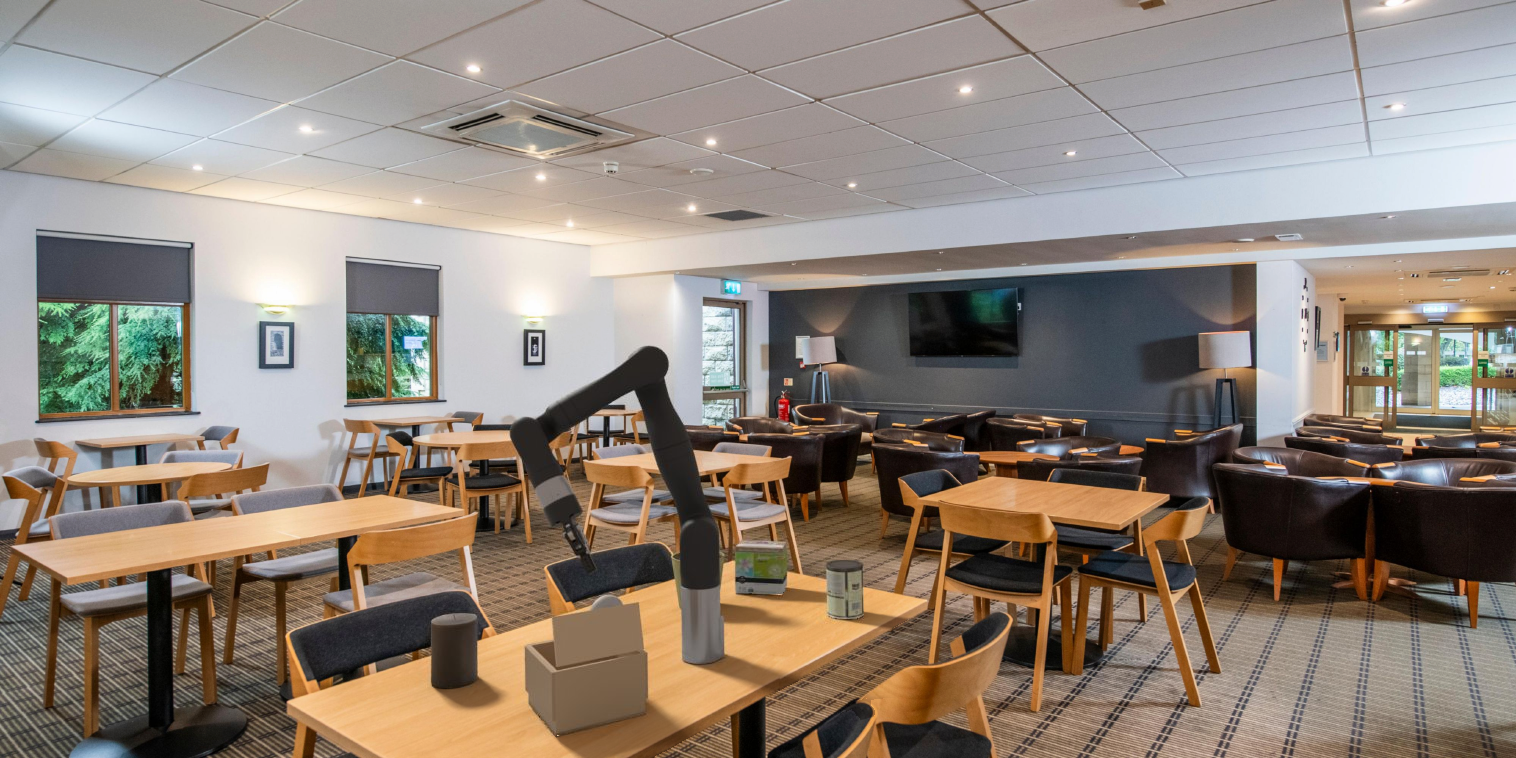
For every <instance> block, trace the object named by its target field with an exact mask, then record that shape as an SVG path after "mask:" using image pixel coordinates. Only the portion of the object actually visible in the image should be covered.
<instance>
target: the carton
mask: <svg viewBox="0 0 1516 758" xmlns="http://www.w3.org/2000/svg"><path fill="white" fill-rule="evenodd" d="M648 655H649V653H648V652H647V651H646V650H645V649H642V650H638V651H633V652H628V653H623V654H618V655H613V656H609V657H604V658H599V659H594V660H589V661H584V662H579V663H575V664H570V665H565V666H560V667H556V659H555V648H554V638H553V639H548V640H541V641H538V642H533V643H528V644H526V645H524V684H525V685H524V689H525V691H526V693H527V694H528V695H527V696H528V697H527V699H528V700H527V701H528V702H527V703H528V705H529V707H531V709H532V708H533V709H532V710H533V711H534V712H535V714H536V713H537V714H538V715H539V716H540V717H539V716H538V715H537V714H536V715H537V716H538V717H539V719H542V720H543V721H544V722H545V723H544V722H543V721H542V720H541V721H542V722H543V723H544V724H545V726H546V725H547V726H548V727H547V726H546V727H547V728H548V729H549V730H550V732H551V731H552V732H553V733H554V734H553V733H552V732H551V733H552V734H553V735H554V736H555V737H556V736H557V735H561V736H564V735H563V734H565V735H568V734H567V733H569V734H572V733H571V732H573V733H576V732H577V733H578V732H580V730H581V731H585V730H588V729H593V728H595V727H596V728H597V727H601V726H604V725H609V724H613V723H616V722H620V721H623V720H627V719H633V718H636V717H639V716H643V715H646V699H647V700H648V699H649V673H648V671H649V669H648V666H649V663H648V662H649V661H648ZM557 737H558V736H557Z"/></svg>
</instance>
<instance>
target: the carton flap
mask: <svg viewBox="0 0 1516 758" xmlns="http://www.w3.org/2000/svg"><path fill="white" fill-rule="evenodd" d="M640 610H641V609H640V602H639V601H638V602H631V603H626V604H623V605H619V606H613V607H607V608H602V609H596V610H590V609H589V610H586V611H585V610H584V611H579V612H574V613H567V614H562V615H557V616H551V624H552V625H551V626H552V635H553V639H554V648H555V659H556V667H560V666H565V665H570V664H575V663H579V662H584V661H589V660H594V659H599V658H604V657H609V656H613V655H618V654H623V653H628V652H633V651H638V650H642V649H643V650H645V644H644V637H643V627H642V617H641V611H640Z"/></svg>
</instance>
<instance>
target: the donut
mask: <svg viewBox="0 0 1516 758" xmlns="http://www.w3.org/2000/svg"><path fill="white" fill-rule="evenodd" d="M619 605H624V603H623V601H622V600H621V599H620V598H619V597H618V596H616V595H614V594H605V595H604V594H603V595H602V596H600V597H598V598H596V600H594V602H593V603H592V604H591V606H590V609H589V611H590V610H596V609H602V608H607V607H613V606H619Z"/></svg>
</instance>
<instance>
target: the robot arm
mask: <svg viewBox="0 0 1516 758" xmlns="http://www.w3.org/2000/svg"><path fill="white" fill-rule="evenodd" d="M669 361H670V360H669V357H668V355H667V354H666V352H665V351H664V350H662V349H661V348H660V347H658V346H654V345H644V346H641V347H638V348H636V350H634V351H632V352H631V353H630V355H629V356H628V358H627V359H626V360H625V361H624V362H622V363H621V364H620V365H618V366H617V367H616V368H614V369H613V370H611V371H610V372H607V373H606V374H605V375H603V376H600V377H599V378H596V379H595V380H593V381H591V382H589V383H587V384H585V385H583V386H581V387H578V388H577V389H575V390H573V391H572V392H570V393H567V394H566V395H564V396H562V397H561V398H559V399H557V400H556V401H554V402H552V403H550V404H549V405H548V406H547V408H546V409H545V411H544V412H543V413H542V414H540V415H538V416H537V417H536V418H534V417H531V416H530V417H529V416H522V417H518V418H517V419H515V420H514V421H513V423H512V424H511V425H510V428H509V438H510V441H511V442H512V444H513V446H514V448H515V450H516V452H517V454H518V455H519V458H520V459H521V461H522V463H523V465H524V468H525V470H526V473H527V476H528V478H529V481H530V483H531V485H532V487H533V489H534V491H535V495H536V497H537V500H538V502H539V505H540V507H541V508H542V511H543V513H544V516H545V517H546V520H547V521H548V524H549V526H550V527H551V528H558V527H561V526H562V529H563V531H561V533H562V535H563V538H564V539H566V541H567V543H568V545H569V547H570V549H571V550H572V551H573V553H574V555H575V556H576V557H577V558H578V560H580V563H581V564H582V567H583V569H584V571H585V573H586V575H592V574H593V573H595V572H597V570H598V568H597V566H596V563H595V562H594V559H593V558H592V555H591V552H592V549H591V548H590V545H589V541H588V539H587V537H586V534H585V530H584V528H583V526H582V524H581V523H577V520H576V518H578V517H580V516H581V515H582V514H583V513H584V511H583V508H582V506H581V504H580V502H579V500H578V498H577V496H576V494H575V491H574V489H573V487H572V486H571V484H570V483H571V482H569V480H568V479H567V477H566V476H565V474H564V472H563V469H562V467H561V464H560V463H559V461H558V460H557V458H556V457H555V455H554V453H553V452H552V449H551V446H550V444H551V443H552V442H553V441H555V440H556V439H557V438H559V437H560V436H561V435H562V434H563V433H565V432H566V431H568V430H570V429H573V428H574V427H576V426H578V425H579V424H580V423H581V424H582V422H584V421H586V420H587V419H589V418H590V417H592V416H594V415H595V414H597V413H598V412H600V411H601V410H603V409H604V408H605V407H608V406H609V405H610V404H612V403H614V402H615V401H616V400H619V399H621V398H622V397H624V396H626V395H628V394H630V393H632V392H634V393H635V394H634V395H635V396H636V398H637V401H638V403H639V405H640V409H641V412H642V415H643V420H644V423H645V428H646V432H647V436H648V439H649V443H650V446H651V447H650V448H651V450H652V453H653V457H654V460H655V462H656V465H657V468H658V471H659V474H660V476H661V478H662V480H663V482H664V484H665V486H666V488H667V489H668V491H669V493H670V495H671V497H672V499H673V502H674V505H675V508H676V513H677V517H678V520H679V525H680V534H679V541H678V542H679V552H680V576H681V609H680V610H681V612H680V613H681V614H680V615H681V616H680V617H681V619H680V620H681V659H682V660H683V661H684V662H686V663H687V664H688V663H689V664H694V665H702V664H703V665H704V664H705V665H706V664H710V663H715V662H717V661H719V660H720V659H722V658H725V657H726V656H725V617H724V616H723V615H721V589H720V556H719V552H720V529H719V526H718V524H717V522H716V520H715V517H714V515H713V513H712V511H711V508H710V506H709V504H708V502H707V499H706V497H705V494H704V490H703V487H702V486H703V485H702V482H701V481H702V480H701V476H700V471H699V467H698V466H699V465H698V462H697V458H696V454H695V451H694V449H693V444H692V441H691V439H690V435H689V433H688V431H687V429H686V427H685V425H684V422H683V421H682V420H681V417H680V415H679V413H678V412H677V410H676V408H675V407H674V405H673V403H672V400H671V397H670V394H669V391H668V387H667V383H666V379H665V377H666V375H667V374H668V371H669V367H670V364H669V363H670V362H669Z"/></svg>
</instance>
